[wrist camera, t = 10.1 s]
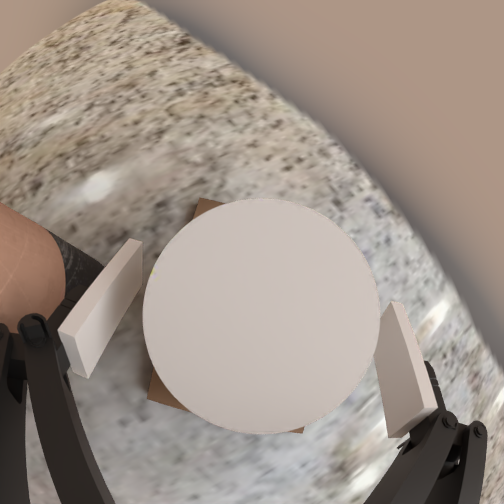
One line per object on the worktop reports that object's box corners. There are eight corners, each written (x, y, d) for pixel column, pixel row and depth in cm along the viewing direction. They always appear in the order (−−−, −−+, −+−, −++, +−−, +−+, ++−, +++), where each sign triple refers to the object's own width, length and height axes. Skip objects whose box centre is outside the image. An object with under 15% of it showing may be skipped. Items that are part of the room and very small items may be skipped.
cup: (269, 243, 23) (308, 165, 11) (322, 339, 21) (412, 353, 10) (170, 294, 21) (106, 262, 10) (224, 393, 20) (217, 469, 8)
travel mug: (37, 268, 22) (-144, 188, 3) (106, 240, 23) (-73, 90, 4) (56, 352, 21) (-149, 362, 1) (130, 330, 22) (-108, 330, 2)
